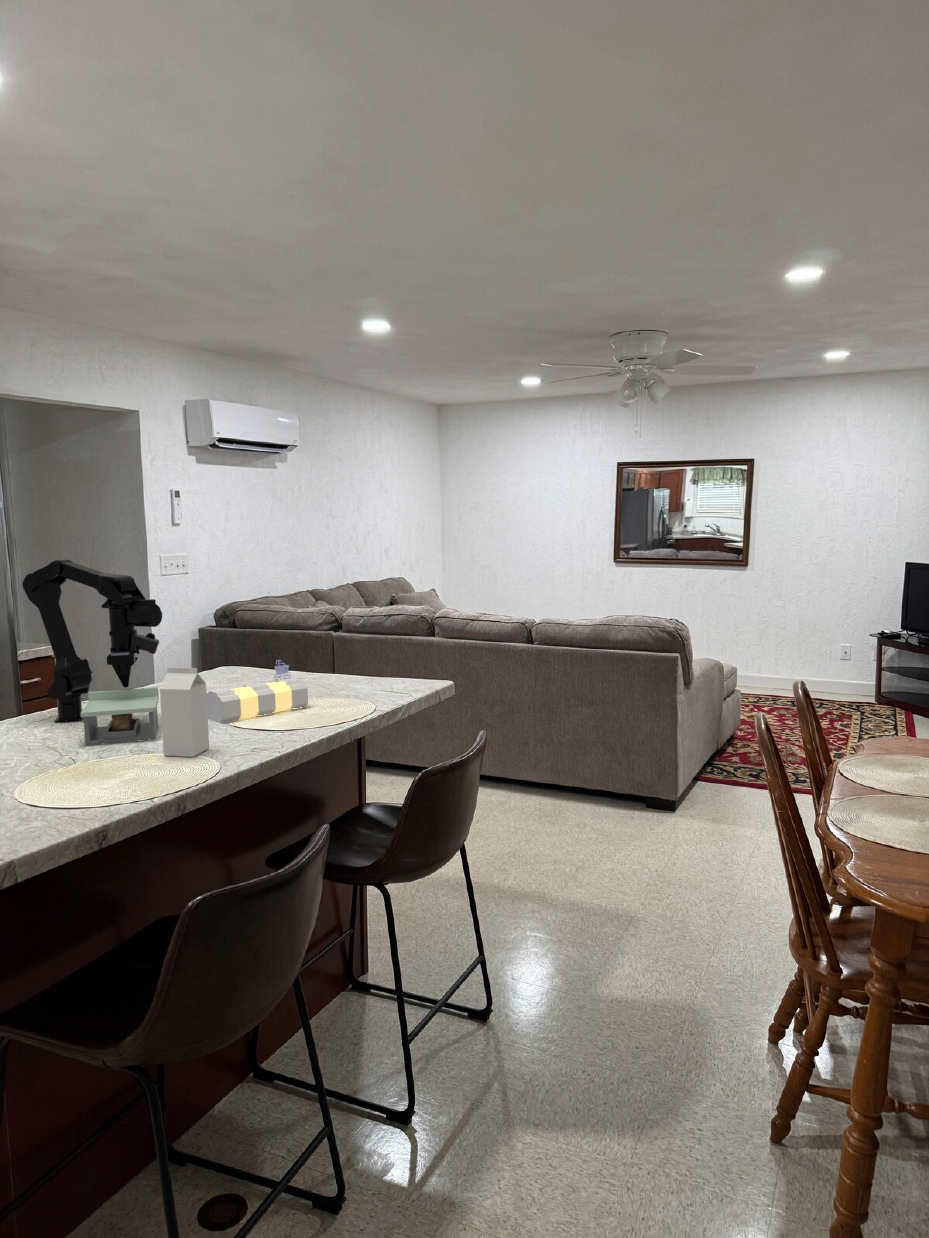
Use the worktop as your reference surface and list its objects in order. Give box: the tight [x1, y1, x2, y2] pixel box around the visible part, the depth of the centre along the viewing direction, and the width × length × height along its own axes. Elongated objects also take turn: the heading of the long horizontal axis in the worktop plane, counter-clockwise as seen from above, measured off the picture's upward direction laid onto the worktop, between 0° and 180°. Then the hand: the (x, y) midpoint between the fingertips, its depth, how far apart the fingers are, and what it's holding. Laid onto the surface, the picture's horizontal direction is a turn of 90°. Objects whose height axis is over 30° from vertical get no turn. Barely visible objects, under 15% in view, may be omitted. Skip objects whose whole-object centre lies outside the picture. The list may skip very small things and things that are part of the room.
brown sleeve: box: [111, 714, 131, 732], centre depth 198 cm, size 4×4×5 cm
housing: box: [83, 706, 159, 746], centre depth 202 cm, size 14×15×6 cm
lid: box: [81, 686, 160, 717], centre depth 201 cm, size 15×16×3 cm
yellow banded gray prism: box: [206, 659, 309, 724], centre depth 223 cm, size 25×10×13 cm, turn 132°
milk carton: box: [159, 667, 210, 758], centre depth 185 cm, size 7×7×19 cm
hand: (126, 687), depth 213 cm, fingers closed
